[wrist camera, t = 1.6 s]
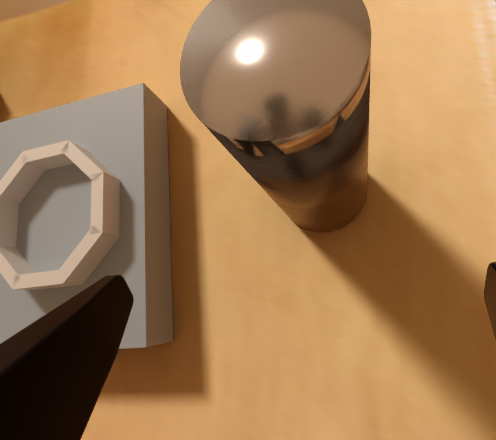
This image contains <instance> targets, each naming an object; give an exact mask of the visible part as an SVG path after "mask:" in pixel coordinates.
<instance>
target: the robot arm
mask: <svg viewBox="0 0 496 440" xmlns="http://www.w3.org/2000/svg"><path fill="white" fill-rule="evenodd" d="M484 299H485V303H486V307H487V310H488V314H489V317H490V321H491V324H492V328H493V331H494V335H495V339H496V262H492V263H490V264H489V266H488V269H487V275H486V282H485V288H484ZM133 302H134V298H133V294H132V292H131V290H130V288H129V287H128V285H127V283H126V281H125V279H124V277H123V276H121V275H118V274H117V275H106V276H104V277H103V278H101V279H100V280H98V281H97V282H95V283H94V284H92V285H91V286H89V287H87V288H86V289H84V290H83V291H81V292H80V293H78V294H77V295H75V296H73V297H72V298H70V299H69V300H67V301H66V302H64V303H63V304H61V305H59V306H58V307H56V308H55V309H53V310H52V311H50V312H49V313H47V314H46V315H44V316H42V317H41V318H39V319H38V320H36V321H35V322H33V323H32V324H30V325H28V326H27V327H25V328H24V329H22V330H21V331H19V332H18V333H16V334H15V335H13V336H11V337H10V338H8V339H7V340H5V341H4V342H2V343H1V344H0V440H80V439H81V437H82V435H83V432H84V430H85V428H86V426H87V423H88V421H89V419H90V416H91V414H92V412H93V409H94V407H95V405H96V402H97V400H98V398H99V395H100V393H101V391H102V388H103V386H104V384H105V381H106V379H107V377H108V374H109V372H110V370H111V367H112V365H113V363H114V360H115V358H116V355H117V353H118V350H119V347H120V344H121V341H122V338H123V335H124V332H125V328H126V325H127V322H128V319H129V316H130V313H131V310H132V307H133Z"/></svg>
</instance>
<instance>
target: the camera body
mask: <svg viewBox="0 0 496 440" xmlns="http://www.w3.org/2000/svg"><path fill="white" fill-rule="evenodd" d="M117 274H118V275H121V276H123V277H124V279H125V281H126V283H127V285H128V287H129V288H130V290H131V292H132V294H133V298H134V302H133V307H132V310H131V313H130V316H129V319H128V322H127V325H126V328H125V332H124V335H123V338H122V341H121V344H120V347H119V349H125V348H144V347H150V346H155V345H159V344H164V343H168V342H173V308H172V271H171V235H170V198H169V162H168V125H167V106H166V105H165V104H164V103H163V102H162V101H161V100H160V99H159V98H158V97H157V96H156V95H155V94H154V93H153V92H152V91H151V90H150V89H149V88H148V87H147V86H146V85H145V84H144V83H141V84H137V85H134V86H130V87H127V88H123V89H119V90H116V91H112V92H109V93H105V94H101V95H98V96H94V97H90V98H87V99H83V100H80V101H76V102H72V103H69V104H65V105H62V106H58V107H54V108H51V109H47V110H43V111H40V112H36V113H33V114H29V115H25V116H22V117H18V118H15V119H11V120H7V121H4V122H0V344H1V343H2V342H4V341H5V340H7V339H8V338H10V337H11V336H13V335H15V334H16V333H18V332H19V331H21V330H22V329H24V328H25V327H27V326H28V325H30V324H32V323H33V322H35V321H36V320H38V319H39V318H41V317H42V316H44V315H46V314H47V313H49V312H50V311H52V310H53V309H55V308H56V307H58V306H59V305H61V304H63V303H64V302H66V301H67V300H69V299H70V298H72V297H73V296H75V295H77V294H78V293H80V292H81V291H83V290H84V289H86V288H87V287H89V286H91V285H92V284H94V283H95V282H97V281H98V280H100V279H101V278H103V277H104V276H106V275H117Z"/></svg>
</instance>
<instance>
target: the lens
mask: <svg viewBox="0 0 496 440" xmlns="http://www.w3.org/2000/svg"><path fill="white" fill-rule="evenodd" d="M370 59H371V27H370V20H369V16H368V12H367V9H366V7H365V5H364V3H363V1H362V0H212V1H211V2H210V3H209V4H208V5H207V6H206V7H205V9H204V10H203V11H202V12H201V14H200V15H199V17H198V18H197V19H196V21H195V22H194V24H193V26H192V28H191V30H190V32H189V34H188V36H187V39H186V41H185V44H184V48H183V51H182V56H181V63H180V78H181V85H182V89H183V93H184V96H185V98H186V101H187V103H188V105H189V106H190V108H191V110H192V111H193V113H194V114H195V115H196V116H197V117H198V118H199V120H200V121H201V122H202V123H203V124H204V125H205V126H206V127H207V128H208V129H209V130H210V132H211V133H212V134H213V135H214V136H215V137H216V138H217V139H218V140H219V141H220V142H221V144H222V145H223V146H224V147H225V148H226V149H227V150H228V151H229V152H230V153H231V154H232V156H233V157H234V158H235V159H236V160H237V161H238V162H239V163H240V164H241V165H242V166H243V168H244V169H245V170H246V171H247V172H248V173H249V174H250V175H251V176H252V177H253V178H254V179H255V181H256V182H257V183H258V184H259V185H260V186H261V187H262V188H263V189H264V190H265V191H266V193H267V194H268V195H269V196H270V197H271V198H272V199H273V200H274V201H275V202H276V203H277V205H278V206H279V207H280V208H281V209H282V210H283V211H284V212H285V213H286V214H287V215H288V216H289V218H290V219H291V220H292V221H293V222H295V223H296V224H297V225H299V226H300V227H302V228H304V229H307V230H310V231H314V232H329V231H334V230H337V229H340V228H342V227H344V226H346V225H347V224H349V223H350V222H351V221H352V220H354V219H355V218H356V216H357V215H358V214H359V213H360V211H361V210H362V208H363V206H364V203H365V200H366V196H367V173H368V135H369V97H370Z"/></svg>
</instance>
